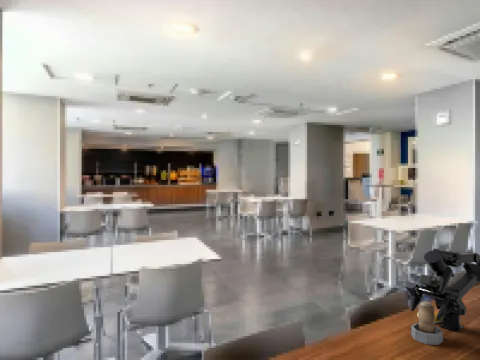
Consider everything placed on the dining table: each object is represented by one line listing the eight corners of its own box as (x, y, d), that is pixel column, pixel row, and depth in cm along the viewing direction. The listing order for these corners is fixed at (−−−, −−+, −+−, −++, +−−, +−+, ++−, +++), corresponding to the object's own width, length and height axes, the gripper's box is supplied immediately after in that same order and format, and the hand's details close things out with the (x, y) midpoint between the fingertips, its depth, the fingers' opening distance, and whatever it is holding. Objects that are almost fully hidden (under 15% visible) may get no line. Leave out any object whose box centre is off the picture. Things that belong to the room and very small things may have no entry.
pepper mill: (424, 332, 123) (423, 300, 123) (437, 337, 118) (437, 304, 118) (416, 335, 120) (415, 302, 120) (430, 341, 116) (429, 306, 116)
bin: (419, 330, 126) (419, 321, 126) (446, 339, 118) (446, 329, 118) (407, 337, 120) (407, 328, 120) (435, 347, 112) (435, 337, 113)
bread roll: (439, 326, 130) (438, 316, 130) (415, 319, 136) (414, 309, 136) (446, 320, 135) (446, 310, 135) (422, 314, 142) (422, 304, 142)
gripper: (407, 261, 130) (390, 294, 124) (458, 271, 114) (442, 310, 108) (419, 278, 133) (403, 311, 128) (470, 290, 117) (455, 328, 112)
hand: (424, 314), depth 118 cm, fingers open, 9 cm apart
